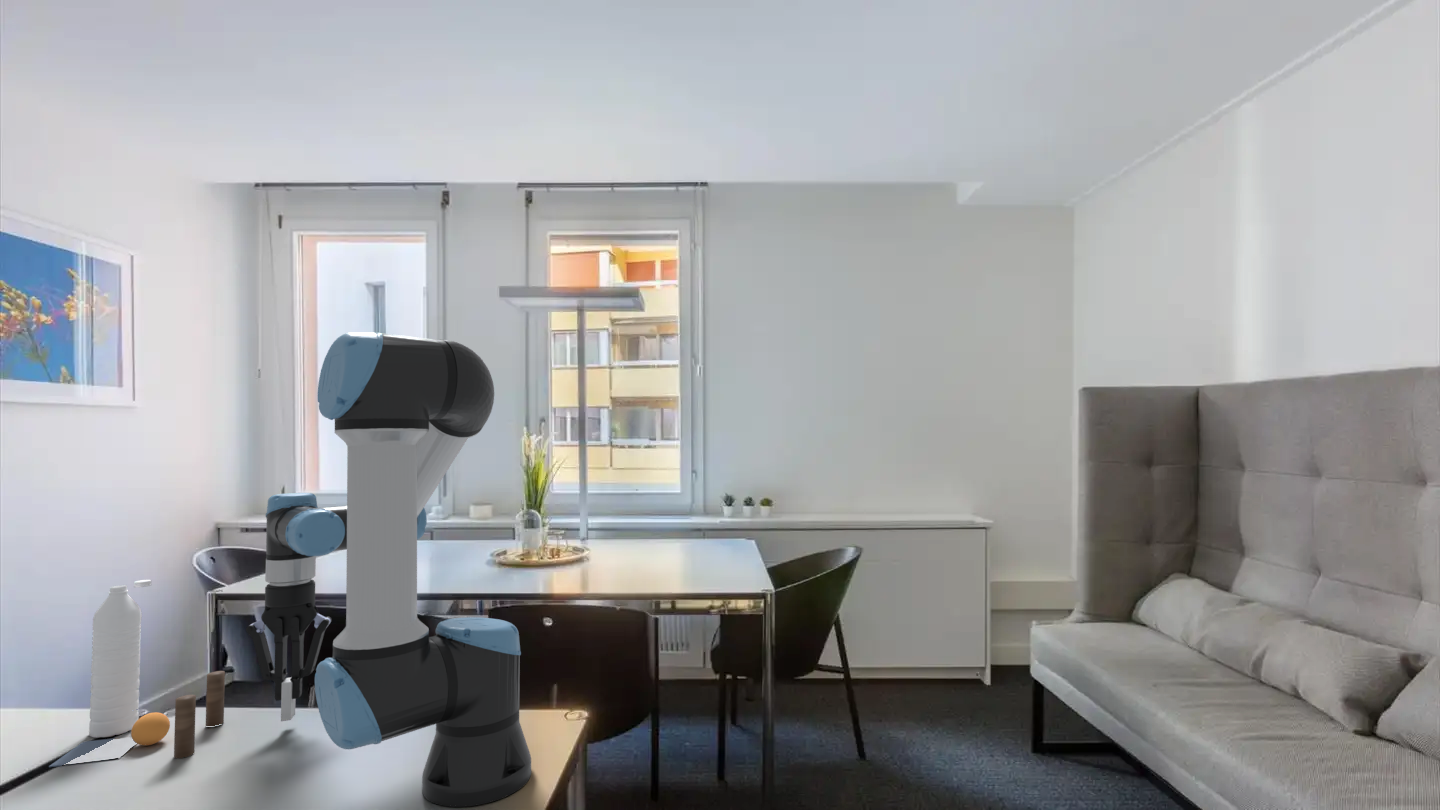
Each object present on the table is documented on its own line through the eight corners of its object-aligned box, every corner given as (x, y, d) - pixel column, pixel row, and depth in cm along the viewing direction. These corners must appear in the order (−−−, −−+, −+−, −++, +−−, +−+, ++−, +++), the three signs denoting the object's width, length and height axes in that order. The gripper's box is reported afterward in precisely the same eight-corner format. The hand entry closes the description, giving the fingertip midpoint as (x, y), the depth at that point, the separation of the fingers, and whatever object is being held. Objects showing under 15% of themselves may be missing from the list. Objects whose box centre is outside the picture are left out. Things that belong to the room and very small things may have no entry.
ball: (133, 715, 112) (118, 745, 112) (165, 724, 113) (151, 754, 113) (150, 703, 117) (136, 732, 116) (181, 712, 118) (167, 741, 118)
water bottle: (109, 739, 117) (114, 590, 118) (78, 737, 118) (83, 589, 119) (160, 719, 125) (164, 580, 126) (130, 716, 126) (134, 579, 128)
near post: (190, 757, 110) (191, 699, 110) (170, 759, 109) (172, 701, 110) (197, 750, 112) (198, 693, 113) (178, 752, 112) (179, 695, 112)
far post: (220, 726, 121) (221, 674, 122) (203, 728, 121) (204, 676, 121) (226, 721, 124) (227, 670, 124) (209, 723, 123) (210, 671, 124)
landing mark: (119, 758, 109) (119, 757, 109) (48, 767, 107) (48, 766, 107) (147, 735, 118) (147, 734, 118) (82, 743, 115) (82, 741, 115)
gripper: (337, 574, 127) (334, 705, 126) (255, 579, 123) (252, 714, 122) (326, 582, 120) (324, 721, 119) (240, 588, 116) (236, 731, 115)
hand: (288, 717), depth 120 cm, fingers closed
